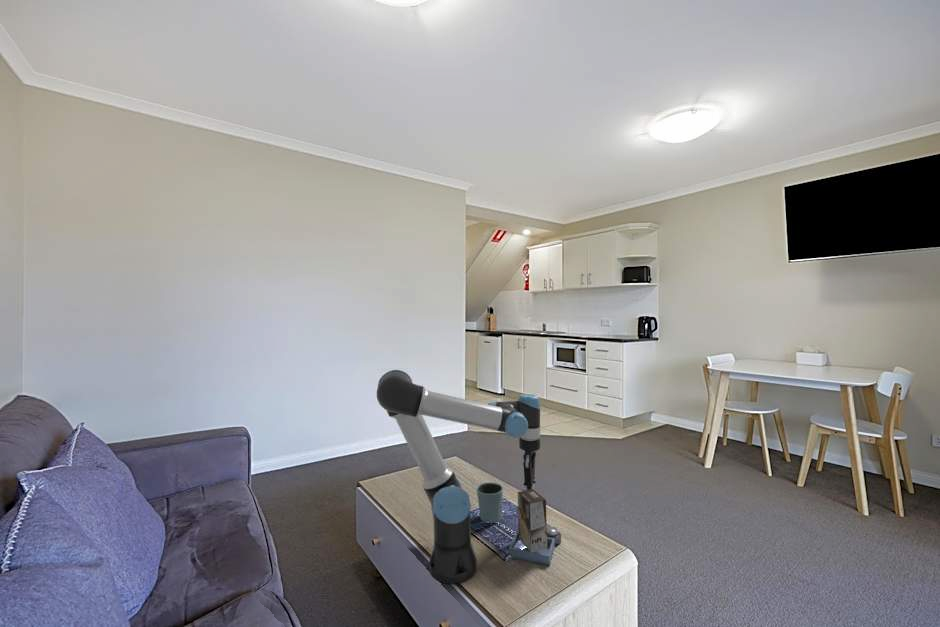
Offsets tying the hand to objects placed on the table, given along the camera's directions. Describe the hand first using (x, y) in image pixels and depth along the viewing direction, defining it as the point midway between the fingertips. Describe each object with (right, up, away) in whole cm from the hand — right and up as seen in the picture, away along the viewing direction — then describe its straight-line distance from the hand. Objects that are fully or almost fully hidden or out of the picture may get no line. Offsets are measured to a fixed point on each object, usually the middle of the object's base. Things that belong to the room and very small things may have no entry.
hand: (529, 502), depth 145 cm
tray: (-1, -11, -11) cm, 16 cm away
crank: (+3, -9, -4) cm, 10 cm away
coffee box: (-1, -9, -11) cm, 14 cm away
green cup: (-14, -12, +11) cm, 21 cm away
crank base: (+3, -11, -3) cm, 12 cm away
